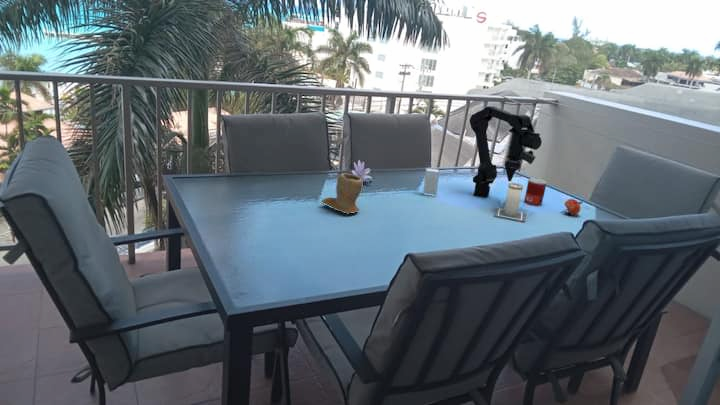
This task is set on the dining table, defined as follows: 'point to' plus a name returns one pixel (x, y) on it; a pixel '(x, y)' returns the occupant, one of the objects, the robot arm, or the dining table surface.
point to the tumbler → (513, 199)
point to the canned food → (535, 191)
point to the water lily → (361, 171)
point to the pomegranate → (573, 206)
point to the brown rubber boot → (346, 193)
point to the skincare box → (431, 181)
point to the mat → (520, 216)
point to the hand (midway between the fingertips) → (510, 178)
